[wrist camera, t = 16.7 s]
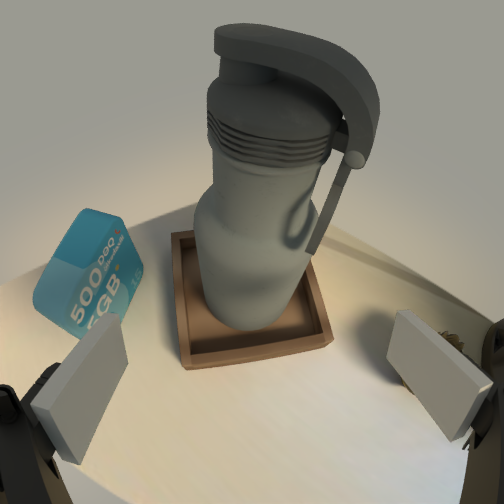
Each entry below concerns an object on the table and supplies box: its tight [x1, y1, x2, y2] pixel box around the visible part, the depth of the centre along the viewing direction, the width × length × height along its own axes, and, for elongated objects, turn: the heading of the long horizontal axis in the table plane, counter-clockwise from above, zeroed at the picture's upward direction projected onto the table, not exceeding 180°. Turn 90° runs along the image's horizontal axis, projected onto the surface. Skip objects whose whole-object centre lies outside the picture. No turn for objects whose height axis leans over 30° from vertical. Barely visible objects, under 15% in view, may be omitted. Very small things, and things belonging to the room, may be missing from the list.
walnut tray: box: [171, 230, 334, 370], centre depth 34 cm, size 16×16×4 cm
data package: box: [33, 208, 143, 340], centre depth 28 cm, size 12×4×12 cm, turn 165°
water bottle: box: [194, 23, 380, 331], centre depth 22 cm, size 10×10×28 cm
